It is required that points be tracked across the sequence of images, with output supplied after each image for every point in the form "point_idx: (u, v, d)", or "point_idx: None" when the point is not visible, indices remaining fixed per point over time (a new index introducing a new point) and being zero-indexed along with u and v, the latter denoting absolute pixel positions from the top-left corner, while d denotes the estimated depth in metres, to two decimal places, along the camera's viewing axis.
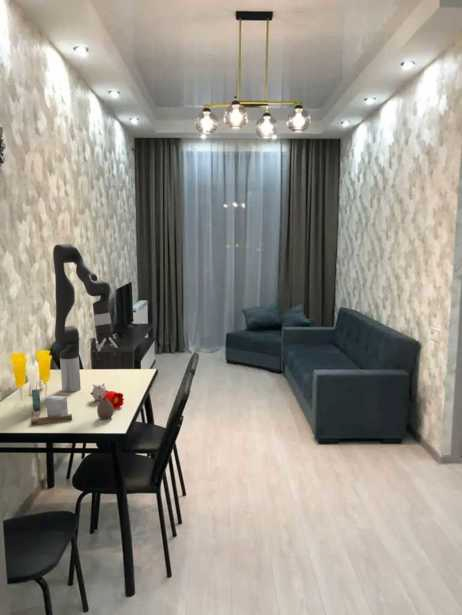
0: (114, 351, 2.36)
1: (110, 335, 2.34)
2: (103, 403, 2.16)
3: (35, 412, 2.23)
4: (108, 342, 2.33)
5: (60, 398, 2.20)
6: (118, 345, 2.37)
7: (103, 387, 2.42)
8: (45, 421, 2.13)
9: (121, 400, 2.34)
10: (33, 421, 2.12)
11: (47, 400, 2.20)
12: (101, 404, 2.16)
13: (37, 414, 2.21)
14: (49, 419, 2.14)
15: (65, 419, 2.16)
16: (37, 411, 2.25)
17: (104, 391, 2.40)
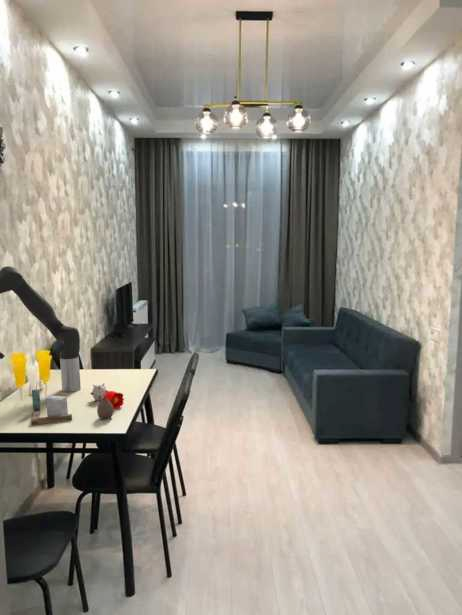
0: None
1: None
2: (103, 403, 2.16)
3: (35, 412, 2.23)
4: None
5: (60, 398, 2.20)
6: None
7: (103, 387, 2.42)
8: (45, 421, 2.13)
9: (121, 400, 2.34)
10: (33, 421, 2.12)
11: (47, 400, 2.20)
12: (101, 404, 2.16)
13: (37, 414, 2.21)
14: (49, 419, 2.14)
15: (65, 419, 2.16)
16: (37, 411, 2.25)
17: (104, 391, 2.40)
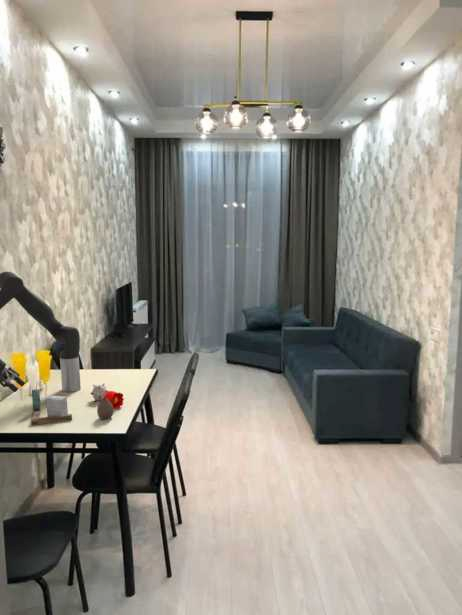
0: None
1: None
2: (103, 403, 2.16)
3: (35, 412, 2.23)
4: None
5: (60, 398, 2.20)
6: None
7: (103, 387, 2.42)
8: (45, 421, 2.13)
9: (121, 400, 2.34)
10: (33, 421, 2.12)
11: (47, 400, 2.20)
12: (101, 404, 2.16)
13: (37, 414, 2.21)
14: (49, 419, 2.14)
15: (65, 419, 2.16)
16: (37, 411, 2.25)
17: (104, 391, 2.40)
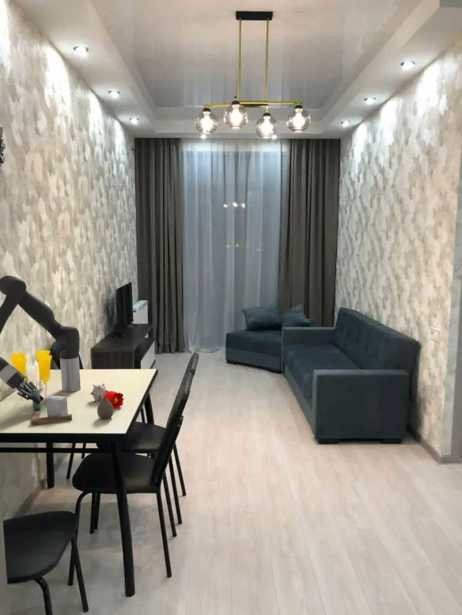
0: None
1: None
2: (103, 403, 2.16)
3: (35, 412, 2.23)
4: None
5: (60, 398, 2.20)
6: None
7: (103, 387, 2.42)
8: (45, 421, 2.13)
9: (121, 400, 2.34)
10: (33, 421, 2.12)
11: (47, 400, 2.20)
12: (101, 404, 2.16)
13: (37, 414, 2.21)
14: (49, 419, 2.14)
15: (65, 419, 2.16)
16: (37, 411, 2.25)
17: (104, 391, 2.40)
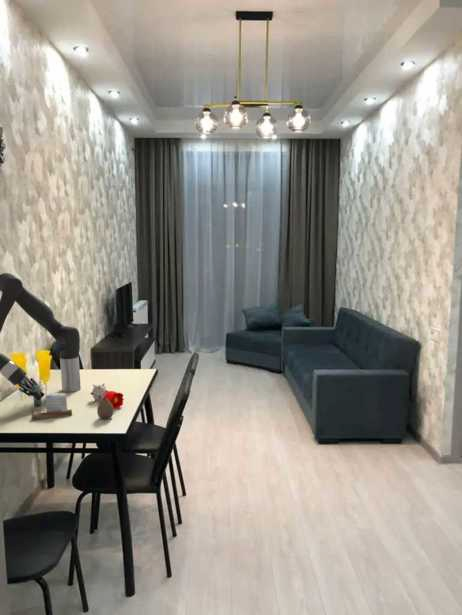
0: None
1: None
2: (103, 403, 2.16)
3: (36, 408, 2.29)
4: None
5: (60, 395, 2.24)
6: None
7: (103, 387, 2.42)
8: (46, 416, 2.19)
9: (121, 400, 2.34)
10: (34, 416, 2.18)
11: (47, 397, 2.24)
12: (101, 404, 2.16)
13: (38, 409, 2.27)
14: (50, 414, 2.20)
15: (65, 414, 2.22)
16: (38, 407, 2.31)
17: (104, 391, 2.40)
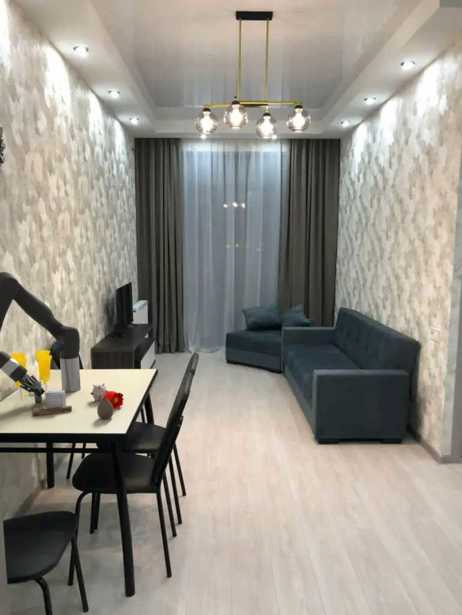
0: None
1: None
2: (103, 403, 2.16)
3: (37, 404, 2.34)
4: None
5: (60, 391, 2.29)
6: None
7: (103, 387, 2.42)
8: (46, 412, 2.24)
9: (121, 400, 2.34)
10: (35, 412, 2.23)
11: (46, 395, 2.27)
12: (101, 404, 2.16)
13: (38, 406, 2.32)
14: (50, 410, 2.25)
15: (65, 410, 2.27)
16: (38, 403, 2.36)
17: (104, 391, 2.40)
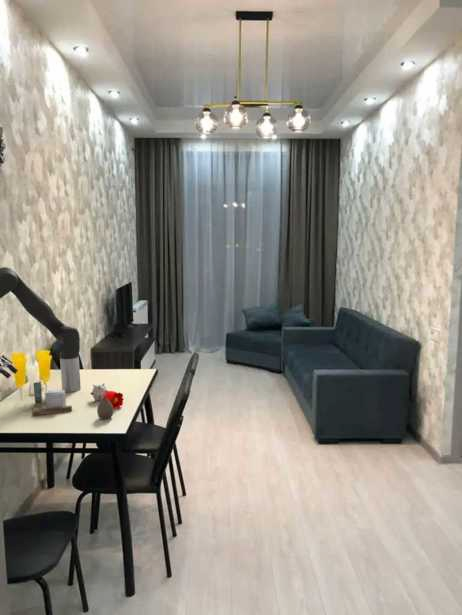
0: None
1: None
2: (103, 403, 2.16)
3: (37, 404, 2.35)
4: None
5: (60, 391, 2.29)
6: None
7: (103, 387, 2.42)
8: (46, 412, 2.25)
9: (121, 400, 2.34)
10: (35, 412, 2.23)
11: (46, 395, 2.28)
12: (101, 404, 2.16)
13: (38, 406, 2.32)
14: (50, 410, 2.25)
15: (65, 410, 2.27)
16: (38, 403, 2.36)
17: (104, 391, 2.40)
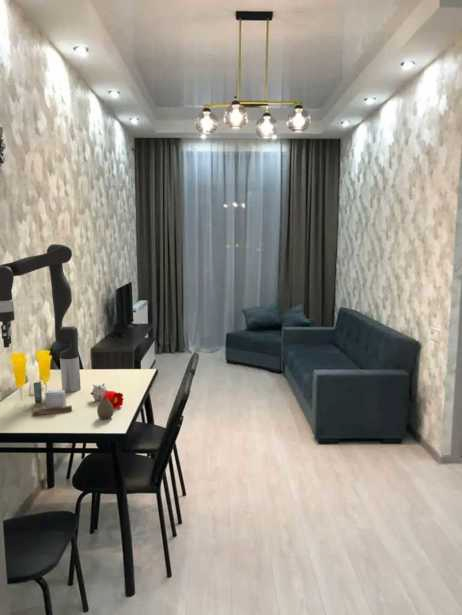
0: None
1: (2, 324, 2.25)
2: (103, 403, 2.16)
3: (37, 404, 2.35)
4: None
5: (60, 391, 2.29)
6: None
7: (103, 387, 2.42)
8: (46, 412, 2.25)
9: (121, 400, 2.34)
10: (35, 412, 2.23)
11: (46, 395, 2.28)
12: (101, 404, 2.16)
13: (38, 406, 2.32)
14: (50, 410, 2.25)
15: (65, 410, 2.27)
16: (38, 403, 2.36)
17: (104, 391, 2.40)
